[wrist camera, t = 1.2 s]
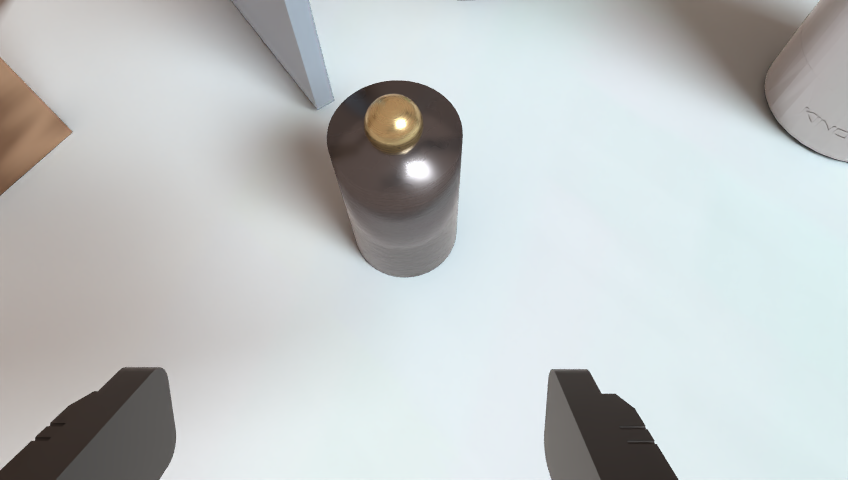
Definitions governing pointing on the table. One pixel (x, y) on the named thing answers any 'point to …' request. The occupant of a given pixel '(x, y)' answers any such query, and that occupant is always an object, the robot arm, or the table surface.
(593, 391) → the robot arm
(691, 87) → the table surface
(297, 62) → the cabinet door
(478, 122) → the table surface
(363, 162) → the pepper mill
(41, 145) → the door frame
